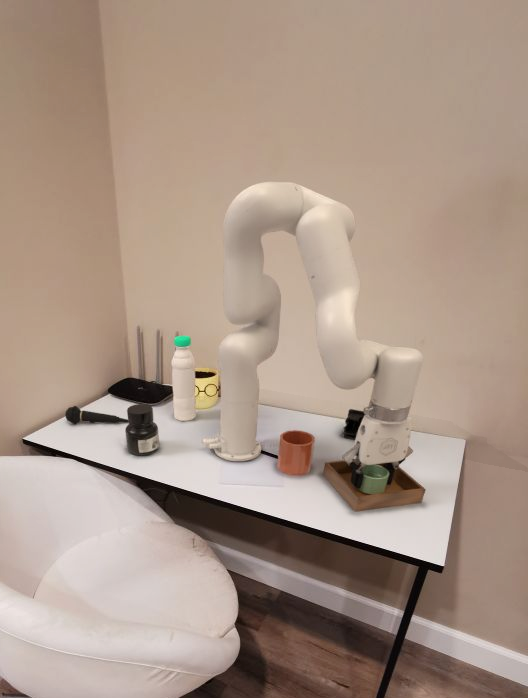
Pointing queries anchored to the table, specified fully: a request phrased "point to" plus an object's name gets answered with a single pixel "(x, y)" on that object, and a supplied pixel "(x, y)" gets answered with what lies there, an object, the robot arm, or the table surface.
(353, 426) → the black angular box
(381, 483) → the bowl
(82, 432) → the table surface
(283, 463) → the cup
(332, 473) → the tray
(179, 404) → the water bottle
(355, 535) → the table surface
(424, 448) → the table surface
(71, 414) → the microphone
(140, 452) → the ink bottle
